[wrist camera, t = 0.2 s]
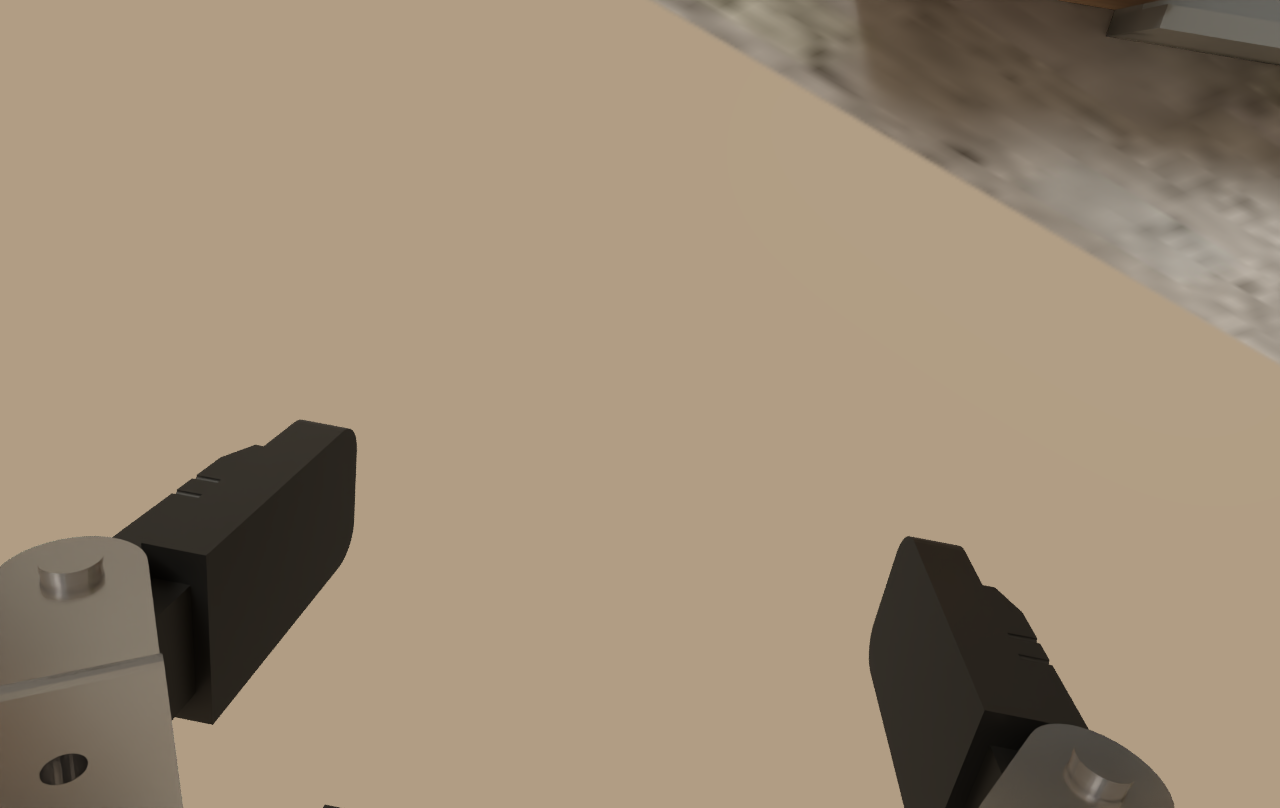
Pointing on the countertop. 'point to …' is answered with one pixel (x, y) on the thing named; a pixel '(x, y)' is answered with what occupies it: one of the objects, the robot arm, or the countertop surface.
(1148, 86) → the countertop surface
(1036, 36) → the countertop surface
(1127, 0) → the stepped wooden block
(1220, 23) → the box
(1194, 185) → the countertop surface
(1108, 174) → the countertop surface
